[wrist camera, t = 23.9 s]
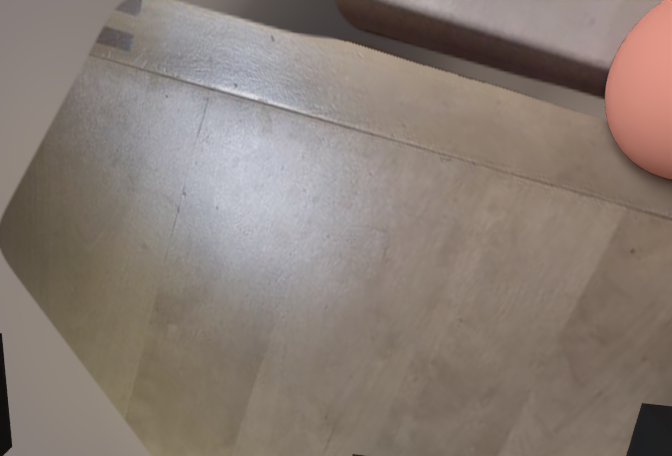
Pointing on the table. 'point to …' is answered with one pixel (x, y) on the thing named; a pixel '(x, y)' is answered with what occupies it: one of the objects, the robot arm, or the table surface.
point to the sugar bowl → (644, 92)
